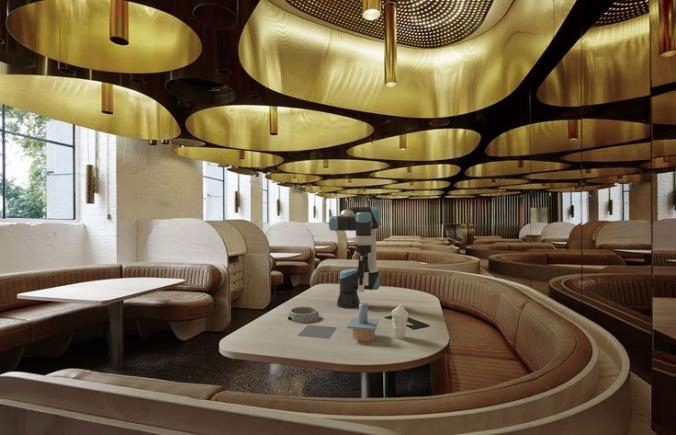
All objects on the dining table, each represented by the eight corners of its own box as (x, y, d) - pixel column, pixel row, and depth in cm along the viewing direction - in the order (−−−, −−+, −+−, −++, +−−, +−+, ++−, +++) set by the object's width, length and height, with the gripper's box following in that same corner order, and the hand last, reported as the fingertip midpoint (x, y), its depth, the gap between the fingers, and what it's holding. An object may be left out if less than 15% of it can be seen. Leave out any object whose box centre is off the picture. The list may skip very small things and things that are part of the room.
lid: (352, 319, 163) (352, 299, 163) (378, 321, 160) (378, 301, 160) (347, 328, 150) (347, 306, 150) (375, 330, 147) (375, 308, 147)
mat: (307, 326, 171) (307, 324, 171) (337, 328, 167) (337, 327, 167) (297, 337, 155) (297, 335, 155) (329, 340, 152) (329, 338, 152)
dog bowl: (309, 313, 195) (309, 304, 195) (325, 321, 180) (325, 311, 180) (283, 317, 186) (283, 308, 186) (297, 326, 171) (297, 316, 171)
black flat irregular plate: (410, 332, 164) (431, 326, 172) (410, 331, 164) (431, 324, 172) (379, 319, 185) (398, 314, 193) (379, 317, 185) (398, 312, 193)
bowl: (354, 332, 162) (354, 320, 162) (376, 334, 159) (376, 322, 159) (349, 340, 151) (349, 327, 151) (373, 342, 148) (373, 329, 148)
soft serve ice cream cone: (398, 341, 149) (398, 307, 149) (387, 336, 157) (387, 303, 157) (412, 338, 153) (412, 305, 153) (401, 333, 161) (401, 301, 161)
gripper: (359, 241, 168) (359, 282, 168) (350, 246, 144) (350, 294, 144) (374, 242, 166) (374, 283, 167) (367, 247, 142) (367, 295, 142)
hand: (363, 288), depth 155 cm, fingers open, 13 cm apart
